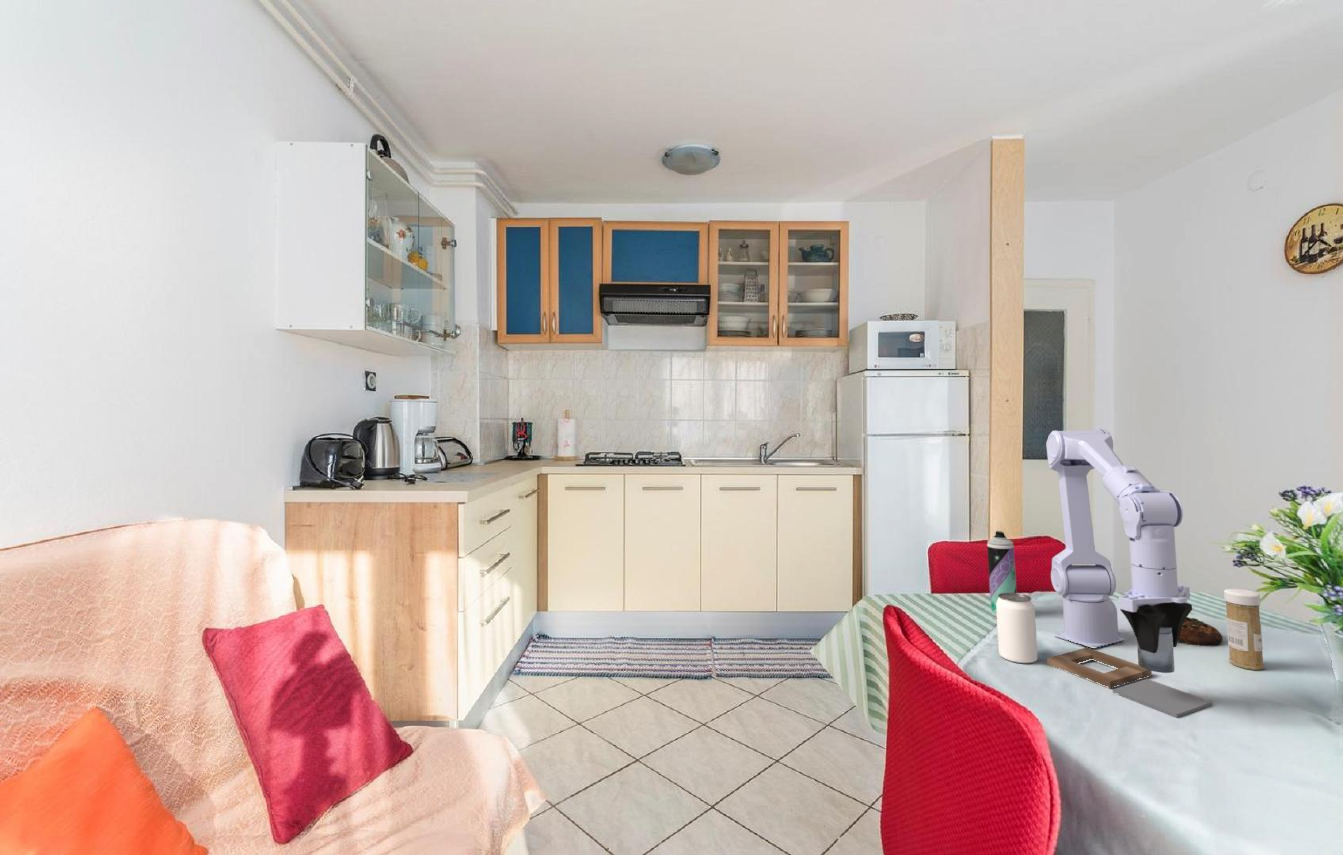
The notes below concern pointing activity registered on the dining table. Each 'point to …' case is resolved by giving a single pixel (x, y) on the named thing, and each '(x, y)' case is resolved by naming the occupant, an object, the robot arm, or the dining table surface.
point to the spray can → (1000, 568)
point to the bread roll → (1199, 633)
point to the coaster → (1162, 697)
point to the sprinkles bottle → (1244, 628)
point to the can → (1016, 628)
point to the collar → (1113, 678)
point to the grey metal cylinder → (1159, 653)
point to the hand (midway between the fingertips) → (1158, 647)
